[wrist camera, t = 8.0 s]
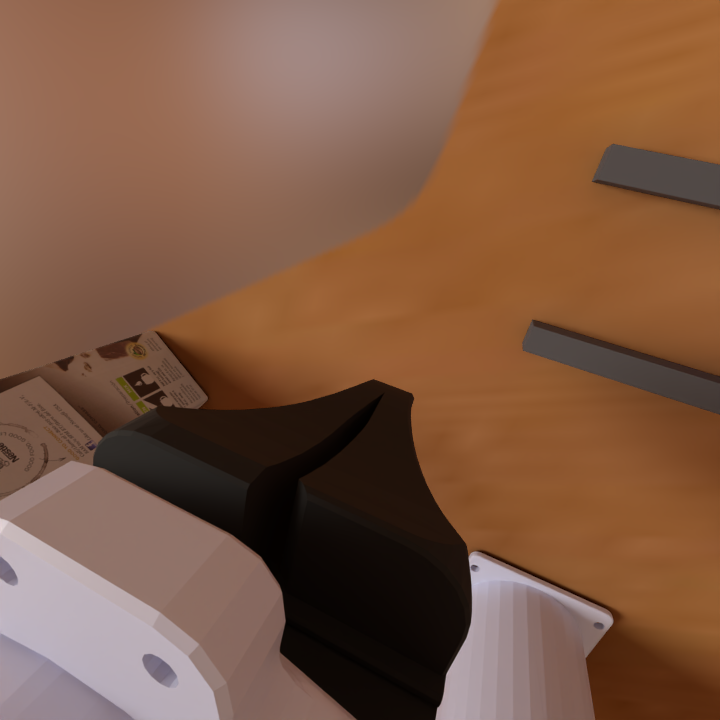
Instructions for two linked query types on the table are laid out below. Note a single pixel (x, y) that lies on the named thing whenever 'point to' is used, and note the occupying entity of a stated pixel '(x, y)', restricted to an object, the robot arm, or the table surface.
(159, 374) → the coffee box
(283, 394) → the table surface
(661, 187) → the guide channel
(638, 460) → the table surface
